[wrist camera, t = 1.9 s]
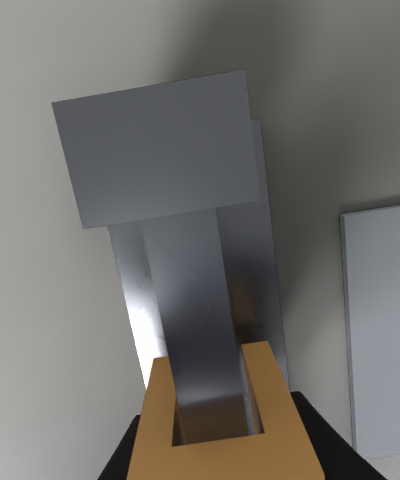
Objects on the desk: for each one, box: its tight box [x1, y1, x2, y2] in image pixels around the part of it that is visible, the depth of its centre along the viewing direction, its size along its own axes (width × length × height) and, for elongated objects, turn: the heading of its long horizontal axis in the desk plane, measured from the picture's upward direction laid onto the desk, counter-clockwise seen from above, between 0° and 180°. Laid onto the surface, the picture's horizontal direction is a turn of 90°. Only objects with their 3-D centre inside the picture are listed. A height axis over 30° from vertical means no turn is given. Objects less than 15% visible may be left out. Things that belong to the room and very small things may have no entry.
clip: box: [127, 341, 325, 480], centre depth 10 cm, size 4×4×5 cm
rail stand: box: [52, 70, 290, 445], centre depth 10 cm, size 20×6×7 cm, turn 9°
